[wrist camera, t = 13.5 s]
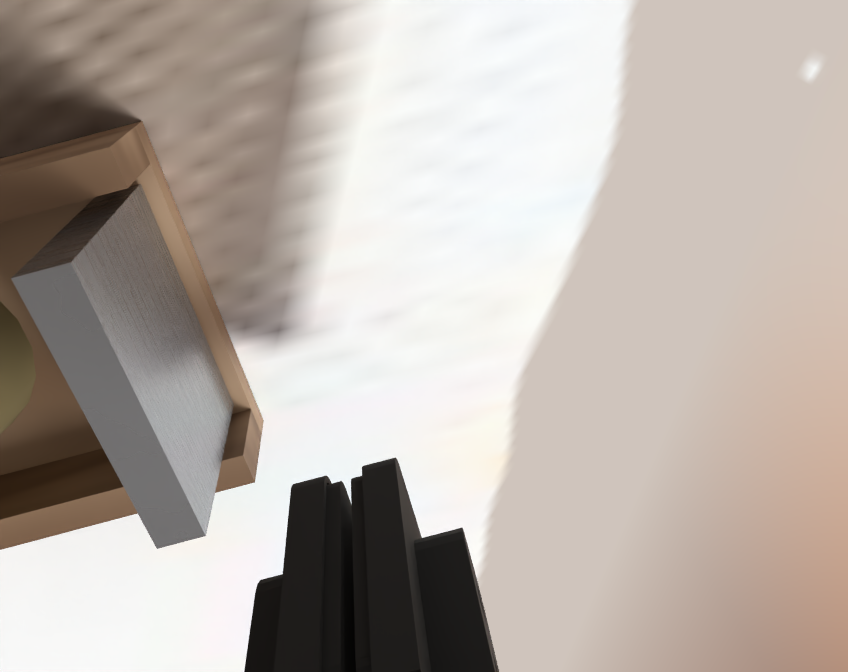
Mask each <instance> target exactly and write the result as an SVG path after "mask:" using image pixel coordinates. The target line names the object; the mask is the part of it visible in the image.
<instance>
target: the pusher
mask: <svg viewBox="0 0 848 672" xmlns="http://www.w3.org/2000/svg"><path fill="white" fill-rule="evenodd" d="M11 279H12V281H13V283H14V285H15V287H16V289H17V291H18V292H19V294H20V296H21V298H22V300H23V302H24V303H25V305H26V307H27V309H28V311H29V313H30V315H31V316H32V318H33V320H34V322H35V324H36V326H37V328H38V329H39V331H40V333H41V335H42V337H43V339H44V340H45V342H46V344H47V346H48V348H49V350H50V352H51V353H52V355H53V357H54V359H55V361H56V363H57V365H58V366H59V368H60V370H61V372H62V374H63V376H64V377H65V379H66V381H67V383H68V385H69V387H70V389H71V390H72V392H73V394H74V396H75V398H76V400H77V402H78V403H79V405H80V407H81V409H82V411H83V413H84V414H85V416H86V418H87V420H88V422H89V424H90V426H91V427H92V429H93V431H94V433H95V435H96V437H97V439H98V440H99V442H100V444H101V446H102V448H103V450H104V451H105V453H106V455H107V457H108V459H109V461H110V463H111V464H112V466H113V468H114V470H115V472H116V474H117V476H118V477H119V479H120V481H121V483H122V485H123V487H124V488H125V490H126V492H127V494H128V496H129V498H130V500H131V501H132V503H133V505H134V507H135V509H136V511H137V513H138V514H139V516H140V518H141V520H142V522H143V524H144V525H145V527H146V529H147V531H148V533H149V535H150V537H151V538H152V540H153V542H154V544H155V546H156V548H157V549H158V548H162V547H165V546H169V545H173V544H177V543H181V542H184V541H188V540H192V539H196V538H199V537H203V536H206V532H207V527H208V523H209V518H210V513H211V509H212V504H213V500H214V495H215V490H216V486H217V481H218V476H219V472H220V467H221V462H222V458H223V453H224V448H225V444H226V439H227V434H228V430H229V425H230V421H231V416H232V411H233V407H234V403H233V401H232V398H231V396H230V394H229V391H228V389H227V387H226V384H225V382H224V379H223V377H222V375H221V372H220V370H219V368H218V365H217V363H216V361H215V358H214V356H213V353H212V351H211V349H210V346H209V344H208V342H207V339H206V337H205V335H204V332H203V330H202V327H201V325H200V323H199V320H198V318H197V316H196V313H195V311H194V308H193V306H192V304H191V301H190V299H189V297H188V294H187V292H186V290H185V287H184V285H183V282H182V280H181V278H180V275H179V273H178V271H177V268H176V266H175V264H174V261H173V259H172V256H171V254H170V252H169V249H168V247H167V245H166V242H165V240H164V238H163V235H162V233H161V230H160V228H159V226H158V223H157V221H156V219H155V216H154V214H153V212H152V209H151V207H150V204H149V202H148V200H147V197H146V195H145V193H144V190H143V188H142V185H141V184H137V185H133V186H129V188H127V189H124V190H120V191H116V192H112V193H109V194H105V195H101V196H97V197H95V198H94V199H93V200H92V201H90V202H89V203H88V204H87V205H86V206H85V207H84V208H83V209H82V210H81V211H80V212H79V213H78V214H77V215H76V216H75V217H74V218H73V219H72V220H71V221H70V222H69V223H68V224H67V225H66V226H65V227H64V228H63V229H62V230H60V231H59V232H58V233H57V234H56V235H55V236H54V237H53V238H52V239H51V240H50V241H49V242H48V243H47V244H46V245H45V246H44V247H43V248H42V249H41V250H40V251H39V252H38V253H37V254H36V255H35V256H34V257H33V258H31V259H30V260H29V261H28V262H27V263H26V264H25V265H24V266H23V267H22V268H21V269H20V270H19V271H18V272H17V273H16V274H15V275H14V276H13V277H12V278H11Z"/></svg>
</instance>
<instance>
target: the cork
mask: <svg viewBox="0 0 848 672" xmlns="http://www.w3.org/2000/svg"><path fill="white" fill-rule="evenodd" d="M35 378H36V372H35V365H34V357H33V350H32V346H31V344H30V342H29V340H28V339H27V337H26V335H25V333H24V331H23V329H22V327H21V325H20V323H19V321H18V319H17V318H16V317H15V316H14V315H13V314H12V313H11V312H10V311H9V310H8V309H7V308H6V307H5V306H4V305H3V304H2V303H1V302H0V434H1V433H2V432H3V431H4V430H5V429H6V428H8V427H9V426H10V425H11V424H12V423H13V422H14V420H15V419H16V418H17V417H18V415H19V414H20V413H21V411H22V410H23V409H24V408H25V406H26V405H27V404H28V403H29V401H30V397H31V393H32V389H33V386H34V382H35Z"/></svg>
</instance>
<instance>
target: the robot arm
mask: <svg viewBox="0 0 848 672" xmlns="http://www.w3.org/2000/svg"><path fill="white" fill-rule="evenodd" d="M351 498H352V505H351V502H350V500H349V497H348V494H347V491H346V488H345V486H344V484H343V482H342V481H340V482H337V483H333V484H331V481H330V479H329V478H328V477H327V476H323V477H319V478H315V479H312V480H308V481H304V482H300V483H296V484H293V485H292V488H291V496H290V506H289V516H288V527H287V537H286V547H285V558H284V568H283V574H282V575H278V576H274V577H271V578H267V579H263V580H260V582H259V583H258V585H257V589H256V593H255V600H254V607H253V614H252V621H251V628H250V635H249V643H248V650H247V657H246V664H245V671H244V672H499V669H498V666H497V661H496V657H495V652H494V648H493V644H492V640H491V636H490V631H489V627H488V623H487V619H486V615H485V610H484V606H483V603H482V598H481V594H480V590H479V586H478V582H477V579H476V575H475V571H474V567H473V563H472V560H471V556H470V553H469V549H468V545H467V542H466V538H465V534H464V531H463V528H459V529H455V530H452V531H448V532H444V533H440V534H436V535H432V536H429V537H425V538H422V537H421V534H420V531H419V528H418V525H417V521H416V518H415V515H414V512H413V508H412V505H411V502H410V499H409V495H408V492H407V489H406V486H405V482H404V479H403V476H402V473H401V469H400V466H399V463H398V461H397V459H396V458H392V459H388V460H385V461H381V462H377V463H373V464H369V465H365V466H363V467H362V476H360V477H356V478H352V479H351Z"/></svg>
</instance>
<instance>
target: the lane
mask: <svg viewBox="0 0 848 672" xmlns="http://www.w3.org/2000/svg"><path fill="white" fill-rule="evenodd" d="M137 184H141V185H142V188H143V190H144V193H145V195H146V197H147V200H148V202H149V204H150V207H151V209H152V212H153V214H154V216H155V219H156V221H157V223H158V226H159V228H160V230H161V233H162V235H163V238H164V240H165V242H166V245H167V247H168V249H169V252H170V254H171V256H172V259H173V261H174V264H175V266H176V268H177V271H178V273H179V275H180V278H181V280H182V282H183V285H184V287H185V290H186V292H187V294H188V297H189V299H190V301H191V304H192V306H193V308H194V311H195V313H196V316H197V318H198V320H199V323H200V325H201V327H202V330H203V332H204V335H205V337H206V339H207V342H208V344H209V346H210V349H211V351H212V353H213V356H214V358H215V361H216V363H217V365H218V368H219V370H220V372H221V375H222V377H223V379H224V382H225V384H226V387H227V389H228V391H229V394H230V396H231V398H232V401H233V403H234V407H233V411H232V416H231V421H230V425H229V430H228V434H227V439H226V444H225V448H224V453H223V458H222V462H221V467H220V472H219V476H218V481H217V486H216V490H215V493H216V492H220V491H223V490H227V489H231V488H235V487H239V486H242V485H246V484H250V483H254V482H255V477H256V470H257V463H258V456H259V449H260V442H261V435H262V428H263V418H262V416H261V413H260V411H259V408H258V406H257V404H256V401H255V399H254V396H253V394H252V391H251V389H250V386H249V384H248V381H247V379H246V376H245V374H244V371H243V369H242V367H241V364H240V362H239V359H238V357H237V354H236V352H235V349H234V347H233V344H232V342H231V339H230V337H229V334H228V332H227V330H226V327H225V325H224V322H223V320H222V317H221V315H220V312H219V310H218V307H217V305H216V302H215V300H214V297H213V295H212V293H211V290H210V288H209V285H208V283H207V280H206V278H205V275H204V273H203V270H202V268H201V265H200V263H199V260H198V258H197V256H196V253H195V251H194V248H193V246H192V243H191V241H190V238H189V236H188V233H187V231H186V228H185V226H184V223H183V221H182V219H181V216H180V214H179V211H178V209H177V206H176V204H175V201H174V199H173V196H172V194H171V191H170V189H169V186H168V184H167V182H166V179H165V177H164V174H163V172H162V169H161V167H160V164H159V162H158V159H157V157H156V154H155V152H154V149H153V147H152V145H151V142H150V140H149V137H148V135H147V132H146V130H145V127H144V125H143V122H142V121H141V122H137V123H133V124H129V125H125V126H122V127H118V128H114V129H110V130H107V131H103V132H99V133H95V134H91V135H88V136H84V137H80V138H76V139H73V140H69V141H65V142H61V143H57V144H54V145H50V146H46V147H42V148H39V149H35V150H31V151H27V152H23V153H20V154H16V155H12V156H8V157H5V158H1V159H0V302H1V303H2V304H3V305H4V306H5V307H6V308H7V309H8V310H9V311H10V312H11V313H12V314H13V315H14V316H15V317H16V318H17V319H18V321H19V323H20V325H21V327H22V329H23V331H24V333H25V335H26V337H27V339H28V340H29V342H30V344H31V346H32V350H33V357H34V365H35V372H36V378H35V382H34V386H33V389H32V393H31V397H30V401H29V403H28V404H27V405H26V406H25V408H24V409H23V410H22V411H21V413H20V414H19V415H18V417H17V418H16V419H15V420H14V422H13V423H12V424H11V425H10V426H9V427H8V428H6V429H5V430H4V431H3V432H2V433H1V434H0V550H1V549H5V548H9V547H13V546H16V545H20V544H24V543H28V542H31V541H35V540H39V539H43V538H46V537H50V536H54V535H58V534H61V533H65V532H69V531H73V530H77V529H80V528H84V527H88V526H92V525H95V524H99V523H103V522H107V521H110V520H114V519H118V518H122V517H126V516H129V515H133V514H137V511H136V509H135V507H134V505H133V503H132V501H131V500H130V498H129V496H128V494H127V492H126V490H125V488H124V487H123V485H122V483H121V481H120V479H119V477H118V476H117V474H116V472H115V470H114V468H113V466H112V464H111V463H110V461H109V459H108V457H107V455H106V453H105V451H104V450H103V448H102V446H101V444H100V442H99V440H98V439H97V437H96V435H95V433H94V431H93V429H92V427H91V426H90V424H89V422H88V420H87V418H86V416H85V414H84V413H83V411H82V409H81V407H80V405H79V403H78V402H77V400H76V398H75V396H74V394H73V392H72V390H71V389H70V387H69V385H68V383H67V381H66V379H65V377H64V376H63V374H62V372H61V370H60V368H59V366H58V365H57V363H56V361H55V359H54V357H53V355H52V353H51V352H50V350H49V348H48V346H47V344H46V342H45V340H44V339H43V337H42V335H41V333H40V331H39V329H38V328H37V326H36V324H35V322H34V320H33V318H32V316H31V315H30V313H29V311H28V309H27V307H26V305H25V303H24V302H23V300H22V298H21V296H20V294H19V292H18V291H17V289H16V287H15V285H14V283H13V281H12V279H11V278H12V277H13V276H14V275H15V274H16V273H17V272H18V271H19V270H20V269H21V268H22V267H23V266H24V265H25V264H26V263H27V262H28V261H29V260H30V259H31V258H33V257H34V256H35V255H36V254H37V253H38V252H39V251H40V250H41V249H42V248H43V247H44V246H45V245H46V244H47V243H48V242H49V241H50V240H51V239H52V238H53V237H54V236H55V235H56V234H57V233H58V232H59V231H60V230H62V229H63V228H64V227H65V226H66V225H67V224H68V223H69V222H70V221H71V220H72V219H73V218H74V217H75V216H76V215H77V214H78V213H79V212H80V211H81V210H82V209H83V208H84V207H85V206H86V205H87V204H88V203H89V202H90V201H92V200H93V199H94V198H95V197H97V196H101V195H105V194H109V193H112V192H116V191H120V190H124V189H127V188H129V186H133V185H137Z"/></svg>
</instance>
